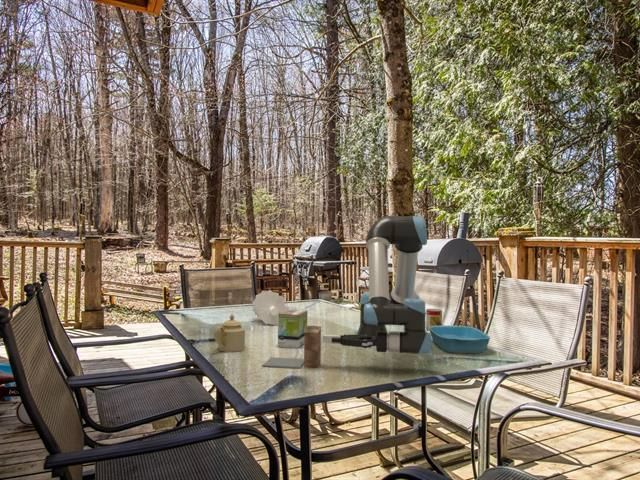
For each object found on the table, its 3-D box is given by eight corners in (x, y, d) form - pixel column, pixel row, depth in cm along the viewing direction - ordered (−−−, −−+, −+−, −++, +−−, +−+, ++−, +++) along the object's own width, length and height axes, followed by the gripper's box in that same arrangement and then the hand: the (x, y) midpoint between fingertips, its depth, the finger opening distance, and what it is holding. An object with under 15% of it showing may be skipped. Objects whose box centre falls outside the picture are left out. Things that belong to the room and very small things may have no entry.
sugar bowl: (240, 354, 191) (240, 317, 191) (213, 354, 191) (213, 317, 191) (246, 346, 206) (247, 312, 206) (221, 346, 206) (222, 311, 206)
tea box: (299, 348, 203) (299, 314, 203) (277, 347, 205) (277, 313, 205) (307, 341, 218) (307, 309, 218) (286, 340, 220) (286, 308, 220)
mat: (306, 360, 182) (306, 359, 182) (299, 368, 170) (300, 367, 170) (271, 358, 184) (271, 357, 184) (262, 366, 172) (262, 365, 172)
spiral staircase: (266, 333, 255) (258, 323, 279) (295, 318, 259) (285, 310, 283) (252, 304, 252) (245, 296, 276) (281, 289, 256) (272, 283, 280)
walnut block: (320, 363, 179) (321, 326, 179) (317, 368, 172) (318, 329, 172) (307, 362, 179) (307, 325, 179) (303, 367, 172) (304, 329, 173)
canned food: (444, 334, 239) (445, 310, 239) (431, 334, 237) (431, 311, 237) (436, 331, 247) (436, 308, 247) (423, 332, 244) (423, 308, 244)
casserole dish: (424, 338, 230) (425, 323, 230) (471, 339, 229) (471, 324, 229) (441, 356, 193) (442, 338, 193) (497, 357, 192) (497, 339, 192)
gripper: (387, 356, 165) (320, 353, 168) (387, 348, 177) (325, 345, 181) (387, 334, 165) (320, 332, 168) (387, 328, 177) (325, 325, 181)
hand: (323, 339), depth 175 cm, fingers closed
